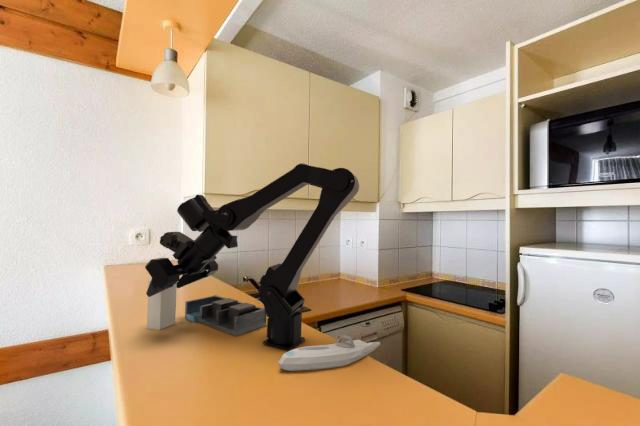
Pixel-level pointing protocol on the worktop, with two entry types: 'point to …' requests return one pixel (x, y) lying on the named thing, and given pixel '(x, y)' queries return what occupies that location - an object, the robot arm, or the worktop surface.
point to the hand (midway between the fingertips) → (163, 290)
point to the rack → (225, 314)
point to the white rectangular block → (162, 308)
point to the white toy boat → (326, 355)
